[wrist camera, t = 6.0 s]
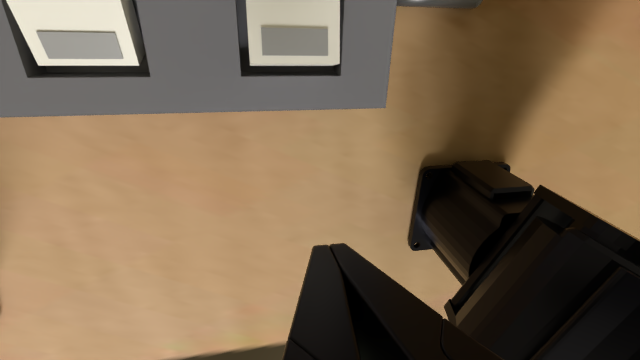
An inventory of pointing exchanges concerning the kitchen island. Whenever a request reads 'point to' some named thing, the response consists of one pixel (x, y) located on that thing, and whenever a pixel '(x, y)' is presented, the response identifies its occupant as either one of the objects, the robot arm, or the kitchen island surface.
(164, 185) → the kitchen island surface
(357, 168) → the kitchen island surface
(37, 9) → the rocker middle
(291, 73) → the rocker switch panel
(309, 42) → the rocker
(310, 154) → the kitchen island surface
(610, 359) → the robot arm
